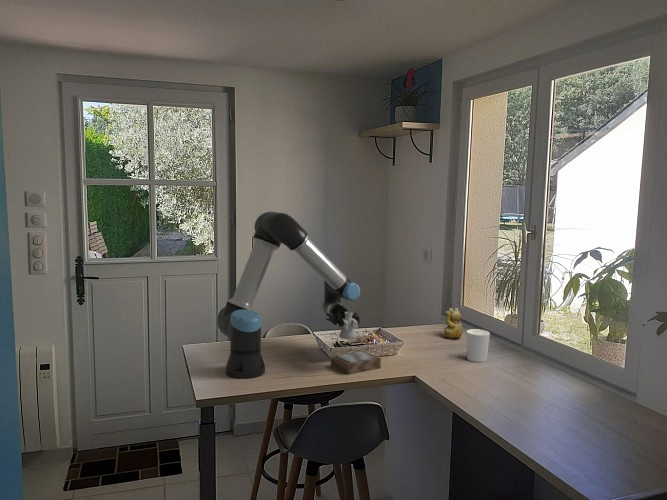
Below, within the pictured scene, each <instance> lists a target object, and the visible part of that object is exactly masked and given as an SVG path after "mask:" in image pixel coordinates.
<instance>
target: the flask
mask: <svg viewBox="0 0 667 500" xmlns="http://www.w3.org/2000/svg"><path fill="white" fill-rule="evenodd" d="M344 314H345V320H346V321H347V322H348V329H345V328H344V327H343V326H342V327H341V330H340V332H339V337H338V338H340V339H346V340H353V339H354V340H355V339H356V338H358V336H357V333H356V329H355V328H354V327H353V323H352V314H353V312H352V311H348V312H344Z"/></svg>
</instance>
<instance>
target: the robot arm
mask: <svg viewBox="0 0 667 500" xmlns="http://www.w3.org/2000/svg"><path fill="white" fill-rule="evenodd" d="M253 228H254V233H253V237H252V240H253V242H254V244H253V247H252V249H251V252H250V254H249V255H248V256H249V257H248V259H247V261H246V264H245V266H244V269H243V271H242V274H241V276H240V279H239V281H238V284H237V287H236V288H235V291H234V294H233V297H231V298H230V299H227V301H226V304H225V306H224V307H222V308H221V309H220V311H218V313H217V316H216V325H217V327H218V329H219V331H220V332H221V334H223V335H224V336H226V337H227V338H229V339H230V341H229V342H230V344H229V345H230V347H229V348H230V351H229V355H228V358H227V362H226V364H225V374H226V376H228V377H231V378H234V379H235V378H236V379H253V378H257V377H260V376H263V375H264V374H265V373H266V364H265V361H264V358H263V355H262V325H263V324H262V316H261V314H260V313H259V312H257V311H255V308H254V306H253V305H254V303H255V300H256V297H257V295H258V292H259V290H260V287H261V285H262V282H263V279H264V277H265V275H266V273H267V269H268V267H269V264H270V263H271V259H272V258H273V255H274V253H275V251H277V250H279V249H280V247H281V244H282V245H284V246H286V247H287V248H288V250H290V251H291V252H292V251H294V252H296V254H298V255H299V257H301V259H302V260H303V261H305V262H306V264H307V265H308V266H310V267H311V268H312V269H313V270H314V272H316V274H318V275H319V276H320V277H321V278H322V279H323V280H324V282H323V283H324V286H323V287H324V289H323V290H324V292H323V293H324V298H323V301H322V303H321V304H322V305H321V306H322V310H323V312H324V313H325V314H326V318H325V319H326V320H327V321H328V322H330V323H331V324H333V325H334V326H337V325H338V327H339V328H342V327H344V328H345V329H348V322H347V321H346V320H345V314H344V312H349V311H348V308H346V307H345V306H344V305H343V304H342V299H344V300H346V301H351V302H352V301H356V300H357V299H358V298H359V297H360V294H361V288H360V286H359V285H358V284H357V283H355V282H353V281H352V280H351V279H350V278H348V277H347V276H346V275H345V274H344V273H343V272H342V271H341V270H340V268H338V266H336V265H335V263H334V262H332V261H331V259H330V258H329V257H328V256H327V255H326V254H325V253H324V252H323V251H322V250H321V249H320V248H319V247H318V246H317V245H316V244H315V243H314V242H313V241H312V240H311V239H310V238H309V234H308V232H307V231H306V230H305V229H304V228H303V227H302V226H301V225H300V223H299V222H298V221H296V220H295V218H293V217H292V216H291V215H289V214H287V213H286V212H285V213H284V212H276V211H266V212H263V213H261V214H259V216H258V217H257V218H256V220H255V221H254V227H253ZM326 320H325V321H326ZM352 323H353V327H354V329H355V330H358V326H359V324H360V316H359V315H358V313H357V312H352Z"/></svg>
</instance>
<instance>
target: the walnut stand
mask: <svg viewBox="0 0 667 500" xmlns="http://www.w3.org/2000/svg"><path fill="white" fill-rule="evenodd" d="M381 360H382V359H381V358H380V357H379V356H376V355H374V354H371V353H369V352H367V351H364V350H362V351H355V352H349V353H343V354H337V355H331V356H330V366H331V368H332V367H333V368H334V369H335V370H338V371H340V372H341V373H344V374H346V375H352V374H358V373H362V372H363V373H364V372H367V371H373V370H377V369H381V366H382V365H381V362H382V361H381Z"/></svg>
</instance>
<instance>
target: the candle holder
mask: <svg viewBox="0 0 667 500" xmlns="http://www.w3.org/2000/svg"><path fill="white" fill-rule="evenodd" d="M490 336H491V333H490V331H487V330H485V329H480V328H479V329H476V328H474V329H472V328H471V329H467V330H466V359H467V360H468V361H471V362H475V363H484V362H487V360H488V354H489V353H488V352H489V344H490Z"/></svg>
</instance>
